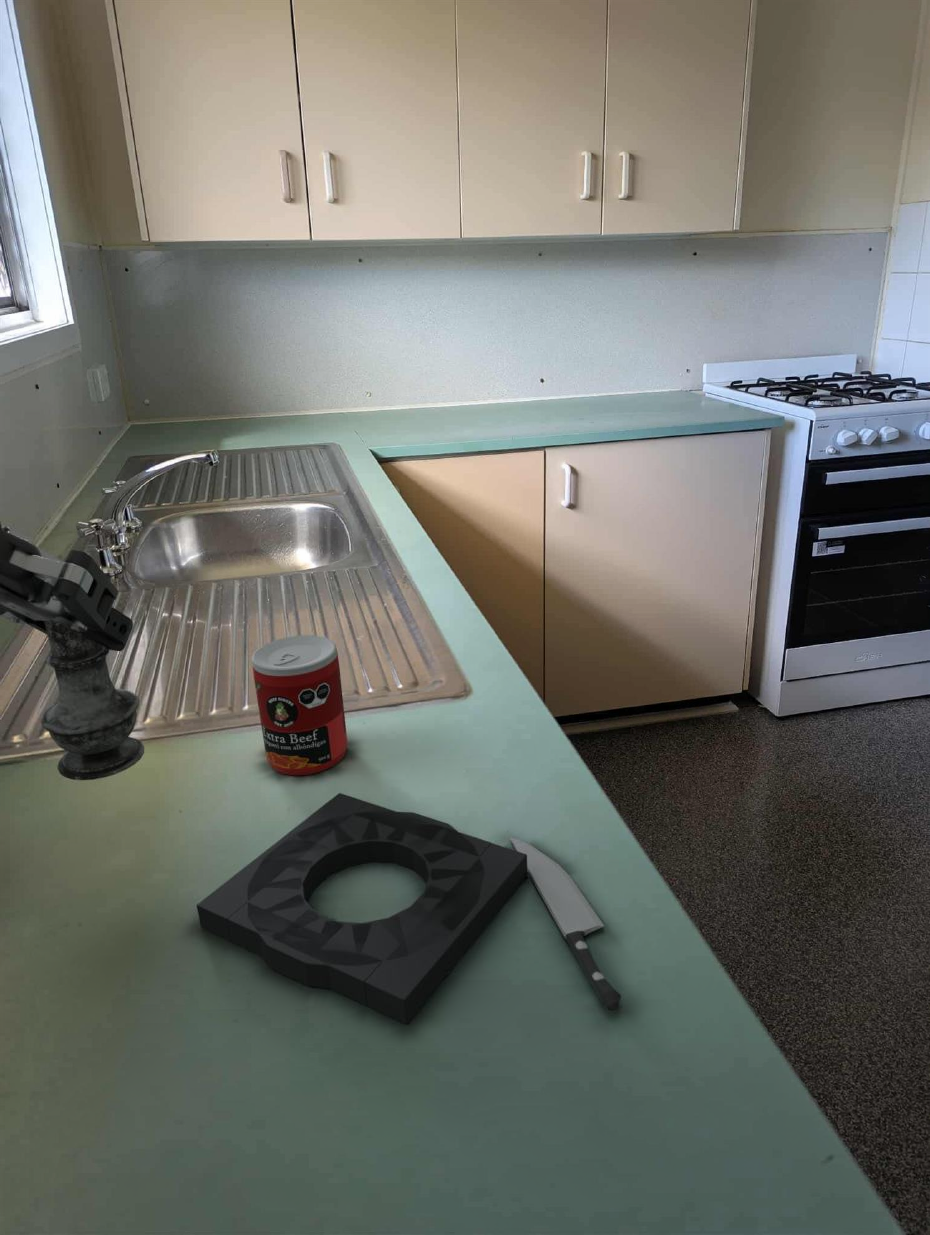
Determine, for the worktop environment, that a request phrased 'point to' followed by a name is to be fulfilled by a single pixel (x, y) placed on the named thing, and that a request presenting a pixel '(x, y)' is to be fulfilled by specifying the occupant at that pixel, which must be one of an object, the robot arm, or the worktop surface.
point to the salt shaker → (89, 709)
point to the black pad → (377, 950)
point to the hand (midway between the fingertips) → (100, 633)
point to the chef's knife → (569, 915)
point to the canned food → (300, 703)
